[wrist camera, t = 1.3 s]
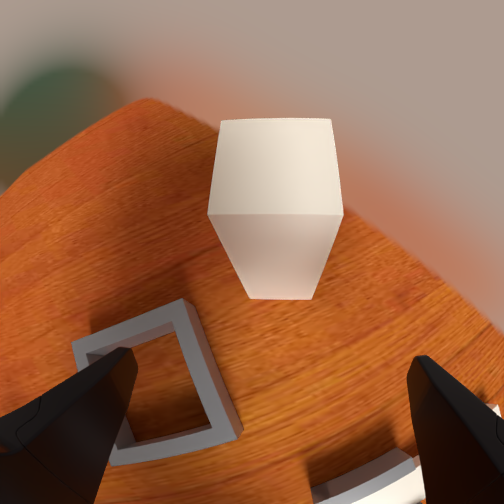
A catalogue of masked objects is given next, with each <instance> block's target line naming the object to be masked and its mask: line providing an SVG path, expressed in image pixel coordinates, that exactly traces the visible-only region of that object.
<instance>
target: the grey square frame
mask: <svg viewBox="0 0 504 504" xmlns="http://www.w3.org/2000/svg"><path fill="white" fill-rule="evenodd" d="M174 331H175V332H176V335H177V338H178V341H179V344H180V347H181V349H182V352H183V355H184V358H185V361H186V363H187V366H188V369H189V371H190V374H191V377H192V379H193V382H194V384H195V387H196V390H197V392H198V395H199V397H200V400H201V402H202V404H203V407H204V409H205V412H206V414H207V416H208V419H209V421H210V423H211V424H207V425H204V426H201V427H197V428H194V429H190V430H186V431H183V432H179V433H175V434H171V435H167V436H163V437H158V438H154V439H150V440H145V441H140V442H136V440H135V438H134V436H133V433H132V431H131V428H130V425H129V423H128V420H127V418H126V415H125V417H124V420H123V422H122V425H121V427H120V430H119V433H118V435H117V438H116V441H115V443H114V446H113V449H112V452H111V454H110V457H109V462H110V464H111V466H119V465H126V464H133V463H139V462H146V461H151V460H157V459H162V458H167V457H172V456H176V455H181V454H185V453H189V452H193V451H197V450H201V449H205V448H209V447H212V446H216V445H220V444H223V443H226V442H230V441H233V440H236V439H238V438H239V436H240V435H241V433H242V431H243V430H244V429H243V426H242V424H241V422H240V420H239V417H238V415H237V413H236V410H235V408H234V406H233V403H232V401H231V399H230V396H229V394H228V391H227V389H226V387H225V384H224V382H223V379H222V377H221V374H220V372H219V369H218V367H217V364H216V362H215V359H214V357H213V354H212V351H211V349H210V346H209V344H208V341H207V338H206V336H205V333H204V330H203V328H202V325H201V322H200V319H199V317H198V314H197V311H196V308H195V306H193V305H192V304H190V303H189V302H187V301H186V300H185V299H183V298H181V299H179V300H176V301H174V302H171V303H169V304H166V305H164V306H161V307H159V308H156V309H154V310H151V311H149V312H147V313H144V314H142V315H139V316H137V317H134V318H132V319H129V320H127V321H124V322H122V323H119V324H117V325H114V326H112V327H109V328H106V329H104V330H101V331H99V332H96V333H94V334H91V335H89V336H86V337H84V338H81V339H79V340H76V341H73V342H71V344H72V348H73V352H74V357H75V361H76V365H77V369H78V372H79V371H81V370H82V369H84V368H86V367H87V366H89V365H90V364H92V363H94V362H95V361H97V360H98V359H100V358H102V357H103V356H105V355H106V354H108V353H109V352H111V351H113V350H114V349H116V348H117V347H120V346H122V347H128V348H131V347H134V346H136V345H139V344H142V343H145V342H147V341H150V340H153V339H155V338H158V337H161V336H163V335H166V334H169V333H171V332H174Z"/></svg>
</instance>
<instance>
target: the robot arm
mask: <svg viewBox="0 0 504 504" xmlns="http://www.w3.org/2000/svg"><path fill="white" fill-rule="evenodd" d="M137 373H138V365H137V362H136V359H135V357H134V354H133V351H132V349H131V348H128V347H122V346H120V347H117V348H116V349H114V350H113V351H111V352H109V353H108V354H106V355H105V356H103V357H102V358H100V359H98V360H97V361H95V362H94V363H92V364H90V365H89V366H87V367H86V368H84V369H82V370H81V371H79V372H78V373H76V374H74V375H73V376H71V377H70V378H68V379H66V380H65V381H63V382H62V383H60V384H58V385H57V386H55V387H54V388H52V389H50V390H49V391H47V392H46V393H44V394H42V396H39V397H37V398H36V399H34V400H33V401H31V402H29V403H27V404H26V405H24V406H22V407H20V408H18V409H17V410H15V411H13V412H11V413H9V414H7V415H5V416H2V417H0V504H94V501H95V498H96V495H97V492H98V489H99V486H100V483H101V480H102V477H103V474H104V471H105V468H106V466H107V463H108V460H109V457H110V454H111V452H112V449H113V446H114V443H115V441H116V438H117V435H118V433H119V430H120V427H121V425H122V422H123V420H124V417H125V415H126V412H127V409H128V406H129V402H130V398H131V395H132V391H133V387H134V384H135V380H136V377H137ZM407 386H408V394H409V402H410V410H411V418H412V424H413V429H414V434H415V438H416V443H417V448H418V453H419V459H420V464H421V470H422V476H423V483H424V490H425V497H426V504H504V420H503V419H502V418H501V417H500V416H499V415H497V414H496V413H495V412H494V411H493V410H492V409H491V408H489V407H488V406H487V405H486V404H485V403H484V402H482V401H481V400H480V399H479V398H478V397H477V396H475V395H474V394H473V393H472V392H471V391H470V390H468V389H467V388H466V387H465V386H464V385H462V384H461V383H460V382H459V381H458V380H456V379H455V378H454V377H453V376H452V375H450V374H449V373H448V372H447V371H446V370H444V369H443V368H442V367H441V366H440V365H438V364H437V363H436V362H435V361H434V360H432V359H431V358H430V357H429V356H427V355H420V356H415V357H414V359H413V361H412V363H411V366H410V368H409V371H408V373H407Z"/></svg>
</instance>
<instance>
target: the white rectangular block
mask: <svg viewBox="0 0 504 504" xmlns="http://www.w3.org/2000/svg"><path fill="white" fill-rule="evenodd" d="M207 215H208V217H209V219H210V221H211V223H212V225H213V227H214V229H215V231H216V233H217V235H218V237H219V239H220V241H221V243H222V245H223V247H224V249H225V251H226V253H227V255H228V257H229V259H230V261H231V263H232V265H233V267H234V269H235V271H236V273H237V275H238V277H239V279H240V281H241V283H242V285H243V286H244V288H245V290H246V292H247V294H248V296H249V298H250V299H283V300H311V299H312V297H313V294H314V292H315V289H316V287H317V284H318V282H319V279H320V277H321V274H322V272H323V269H324V266H325V264H326V261H327V259H328V256H329V253H330V251H331V248H332V245H333V243H334V240H335V237H336V234H337V232H338V229H339V226H340V223H341V220H342V218H343V205H342V196H341V187H340V179H339V171H338V163H337V156H336V149H335V142H334V136H333V130H332V124H331V119H317V118H316V119H315V118H262V119H238V120H222V121H221V125H220V131H219V137H218V143H217V150H216V156H215V163H214V169H213V176H212V183H211V190H210V198H209V205H208V213H207Z"/></svg>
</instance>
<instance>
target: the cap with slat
mask: <svg viewBox="0 0 504 504" xmlns="http://www.w3.org/2000/svg"><path fill="white" fill-rule="evenodd" d="M486 405H487V406H488V407H489V408H491V409H492V410H493V411H494V412H495V413H496V414H497V415H499V416H500V417H501V415H500V411H499V407H498V405H496V404H486ZM311 493H312V498H313V503H314V504H422V503H421V502H420V501H421V500H423V499H425V498H426V497H425V490H424V483H423V476H422V470H421V464H420V459H419V455H417V456H416V457H414V458H412V457H411V456H409V455H408V454H406V453H405V452H403V451H402V450H400V449H399V448H397V447H396V448H394V449H393V450H391V451H389V452H387V453H385V454H384V455H382V456H380V457H378V458H376V459H374V460H372V461H371V462H369V463H367V464H365V465H363V466H361V467H359V468H356V469H354V470H352V471H350V472H348V473H346V474H344V475H341V476H339V477H337V478H335V479H332V480H330V481H327V482H325V483H322V484H320V485H317V486H315V487H312V488H311Z"/></svg>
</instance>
